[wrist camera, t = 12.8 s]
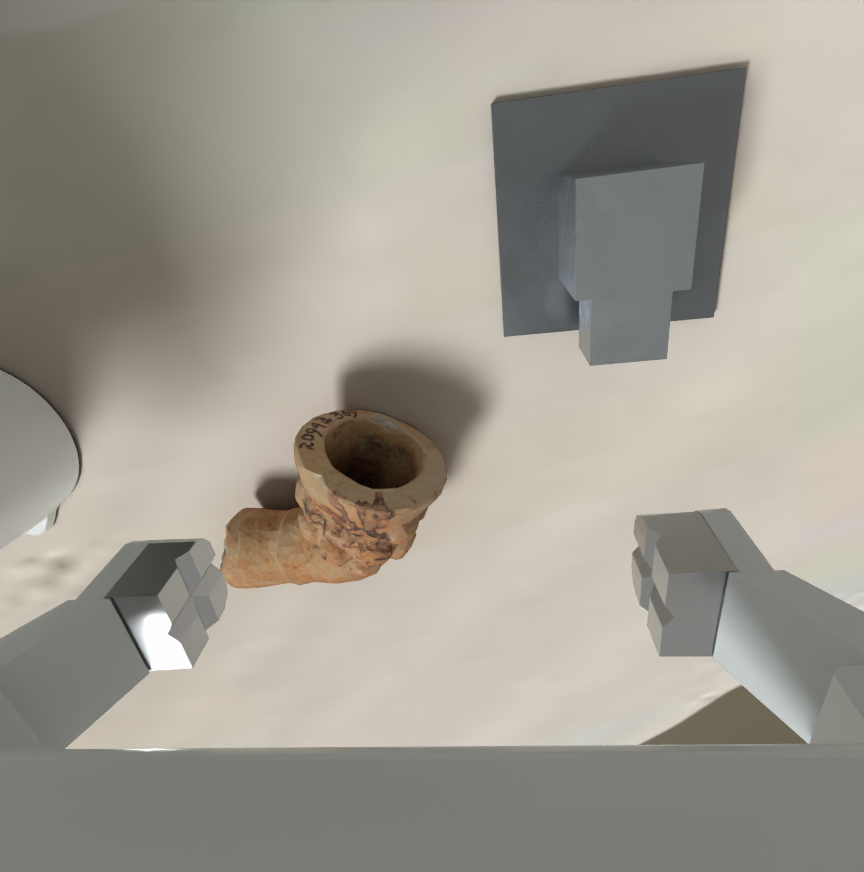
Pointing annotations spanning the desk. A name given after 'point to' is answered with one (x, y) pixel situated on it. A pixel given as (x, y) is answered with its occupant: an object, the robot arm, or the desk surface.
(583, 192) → the stepped gray block
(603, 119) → the duct plate
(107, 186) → the desk surface
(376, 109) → the desk surface
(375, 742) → the desk surface
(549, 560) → the desk surface
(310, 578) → the clay pipe
